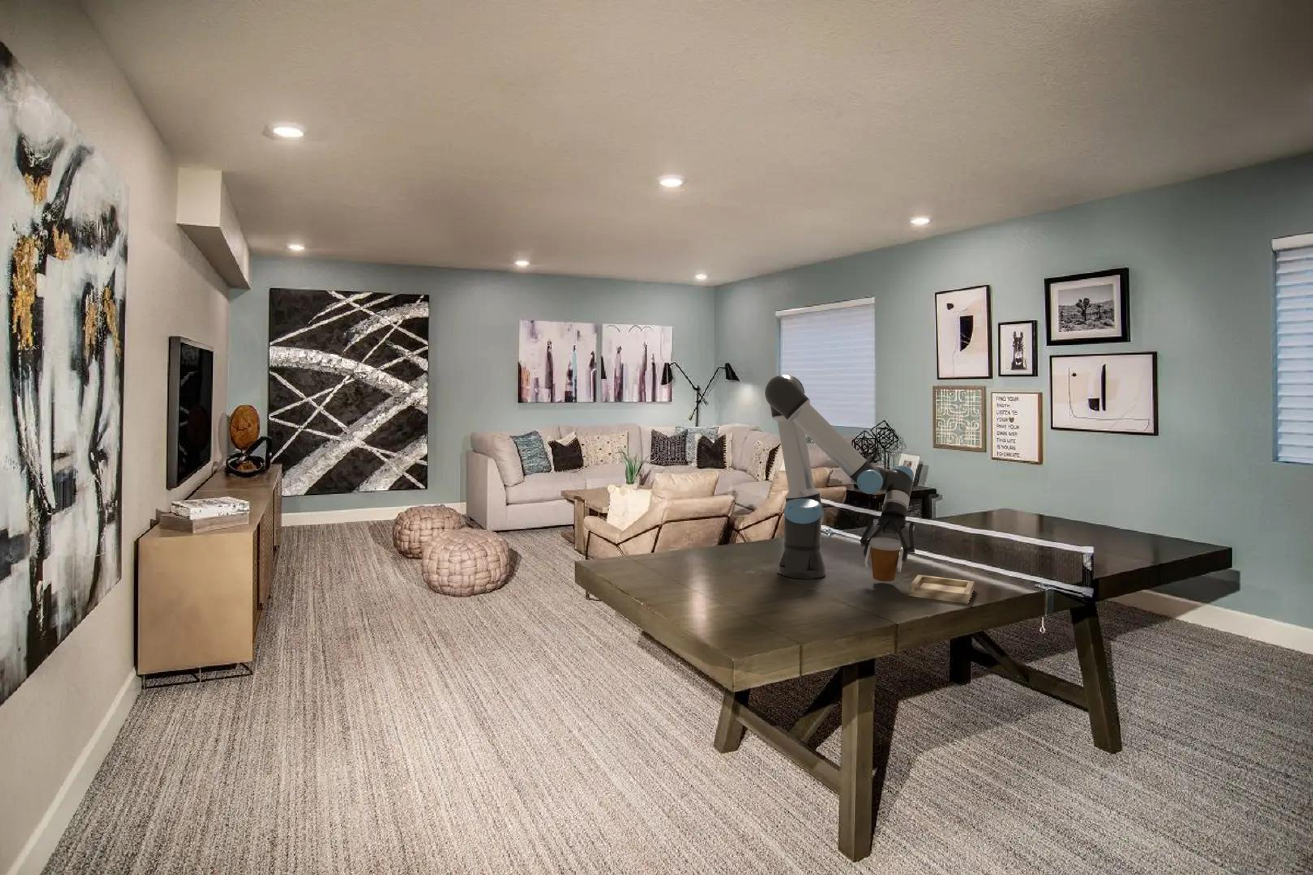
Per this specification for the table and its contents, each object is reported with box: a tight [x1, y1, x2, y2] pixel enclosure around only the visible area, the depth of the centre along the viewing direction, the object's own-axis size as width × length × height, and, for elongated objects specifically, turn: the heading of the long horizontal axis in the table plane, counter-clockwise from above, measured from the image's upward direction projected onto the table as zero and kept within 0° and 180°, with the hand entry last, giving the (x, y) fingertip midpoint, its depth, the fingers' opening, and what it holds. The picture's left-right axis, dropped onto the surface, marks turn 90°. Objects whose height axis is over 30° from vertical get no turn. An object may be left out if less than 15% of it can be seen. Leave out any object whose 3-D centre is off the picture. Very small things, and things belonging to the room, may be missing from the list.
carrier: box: [908, 574, 975, 605], centre depth 218 cm, size 16×16×3 cm
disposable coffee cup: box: [869, 536, 902, 582], centre depth 227 cm, size 10×10×12 cm
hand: (882, 567), depth 224 cm, fingers closed on disposable coffee cup, 9 cm apart
